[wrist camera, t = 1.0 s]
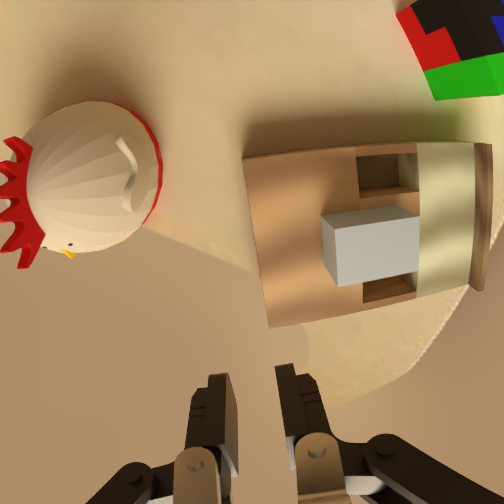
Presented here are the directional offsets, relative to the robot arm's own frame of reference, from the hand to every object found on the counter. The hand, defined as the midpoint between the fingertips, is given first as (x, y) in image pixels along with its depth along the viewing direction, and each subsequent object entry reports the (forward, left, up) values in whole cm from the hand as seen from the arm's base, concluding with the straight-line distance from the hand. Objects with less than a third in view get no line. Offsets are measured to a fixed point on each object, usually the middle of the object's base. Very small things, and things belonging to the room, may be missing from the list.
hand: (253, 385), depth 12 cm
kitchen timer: (-9, -13, -19) cm, 25 cm away
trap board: (0, +12, -19) cm, 23 cm away
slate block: (0, +10, -15) cm, 18 cm away
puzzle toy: (-18, +25, -19) cm, 36 cm away
